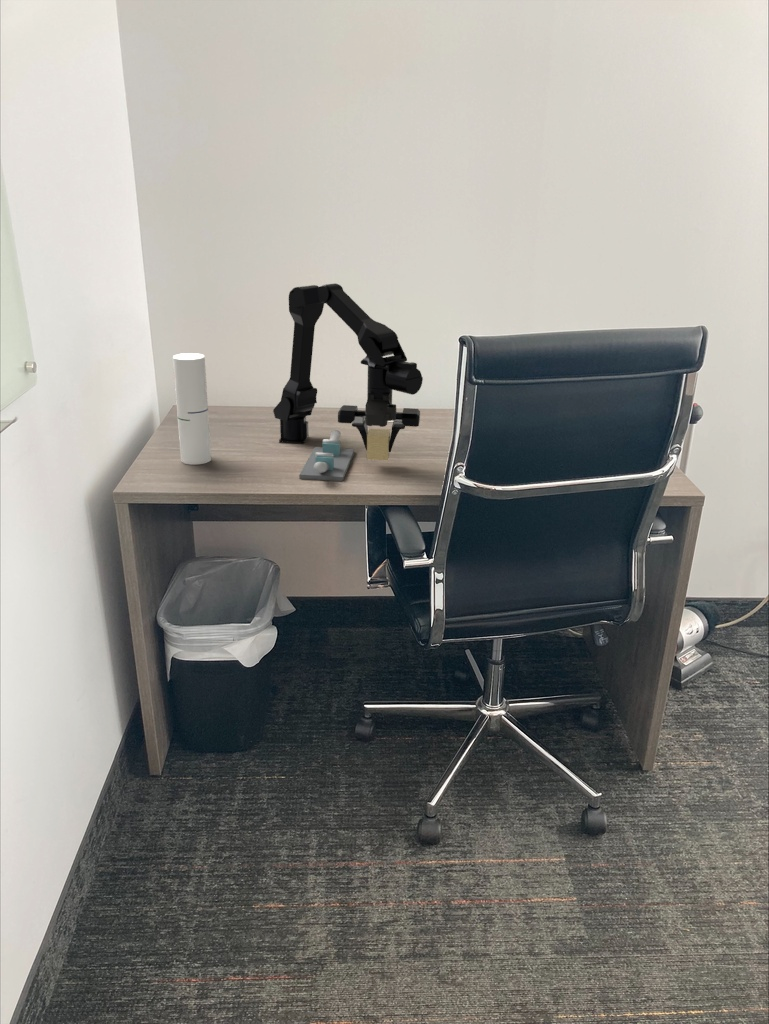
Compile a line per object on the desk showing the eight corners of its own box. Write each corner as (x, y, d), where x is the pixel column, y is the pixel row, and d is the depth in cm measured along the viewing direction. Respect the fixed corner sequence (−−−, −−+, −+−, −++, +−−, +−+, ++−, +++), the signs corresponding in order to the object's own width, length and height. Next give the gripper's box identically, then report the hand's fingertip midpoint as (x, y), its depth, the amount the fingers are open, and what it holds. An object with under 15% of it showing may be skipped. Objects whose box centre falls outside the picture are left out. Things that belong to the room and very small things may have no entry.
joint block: (366, 459, 189) (367, 434, 186) (369, 452, 193) (369, 428, 191) (388, 460, 188) (388, 435, 186) (389, 453, 193) (390, 429, 191)
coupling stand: (296, 483, 182) (296, 461, 180) (316, 447, 205) (316, 427, 203) (340, 485, 181) (340, 464, 179) (355, 449, 205) (356, 429, 203)
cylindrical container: (210, 464, 192) (203, 359, 182) (180, 465, 191) (171, 360, 181) (211, 454, 198) (205, 352, 189) (181, 455, 197) (173, 353, 188)
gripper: (334, 393, 178) (334, 460, 184) (418, 397, 176) (416, 464, 182) (341, 380, 188) (341, 444, 194) (421, 384, 186) (418, 448, 192)
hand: (378, 450), depth 190 cm, fingers closed on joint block, 5 cm apart
